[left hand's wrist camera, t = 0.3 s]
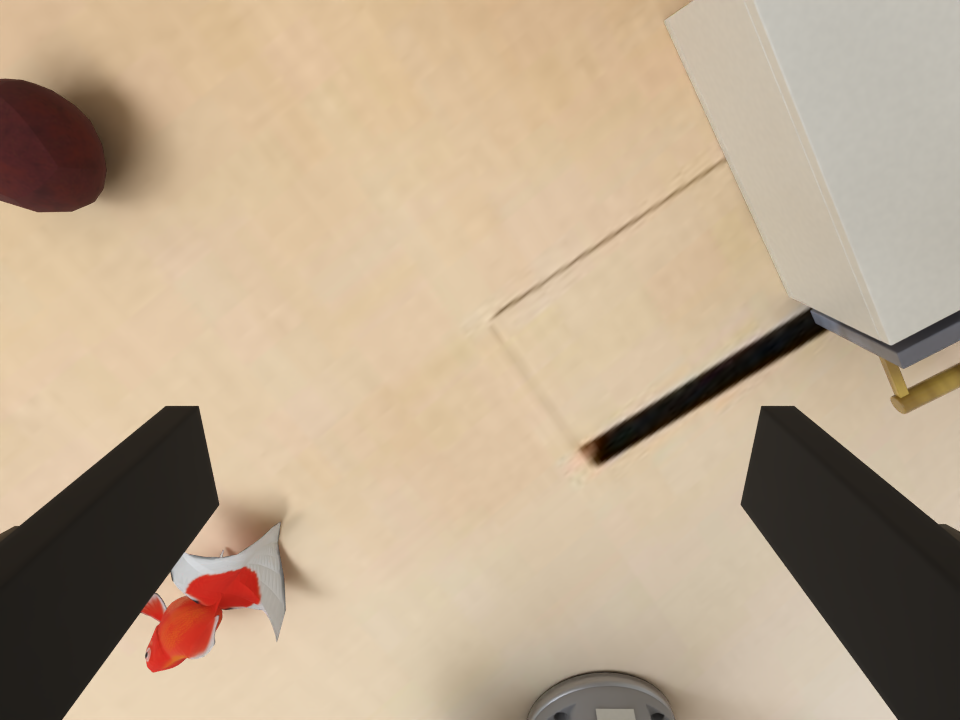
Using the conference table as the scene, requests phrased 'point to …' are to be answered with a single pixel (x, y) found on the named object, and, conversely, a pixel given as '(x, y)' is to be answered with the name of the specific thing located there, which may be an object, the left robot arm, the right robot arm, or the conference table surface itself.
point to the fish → (215, 599)
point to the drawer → (907, 358)
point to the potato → (47, 150)
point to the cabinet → (841, 146)
